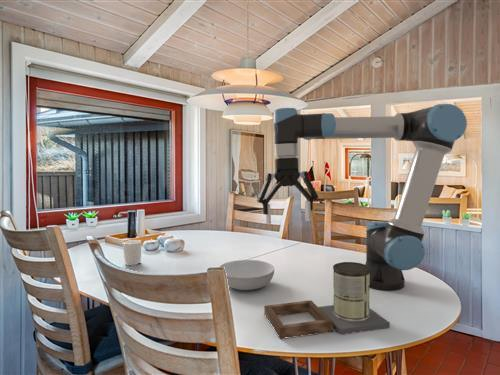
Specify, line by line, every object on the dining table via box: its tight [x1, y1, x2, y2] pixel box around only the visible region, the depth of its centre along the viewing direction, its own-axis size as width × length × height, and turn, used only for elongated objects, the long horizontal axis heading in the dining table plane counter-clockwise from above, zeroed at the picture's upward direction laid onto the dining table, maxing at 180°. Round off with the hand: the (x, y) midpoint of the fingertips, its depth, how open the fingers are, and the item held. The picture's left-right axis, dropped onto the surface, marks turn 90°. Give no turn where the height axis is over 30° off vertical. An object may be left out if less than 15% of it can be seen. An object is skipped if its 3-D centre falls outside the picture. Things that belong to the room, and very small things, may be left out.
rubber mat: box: [318, 304, 390, 335], centre depth 107 cm, size 15×15×2 cm
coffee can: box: [332, 261, 371, 322], centre depth 107 cm, size 10×10×14 cm
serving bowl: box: [218, 259, 275, 291], centre depth 136 cm, size 21×21×7 cm
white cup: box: [122, 239, 142, 266], centre depth 167 cm, size 8×8×10 cm
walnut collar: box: [263, 300, 334, 339], centre depth 106 cm, size 15×15×3 cm
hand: (288, 222), depth 121 cm, fingers open, 13 cm apart
